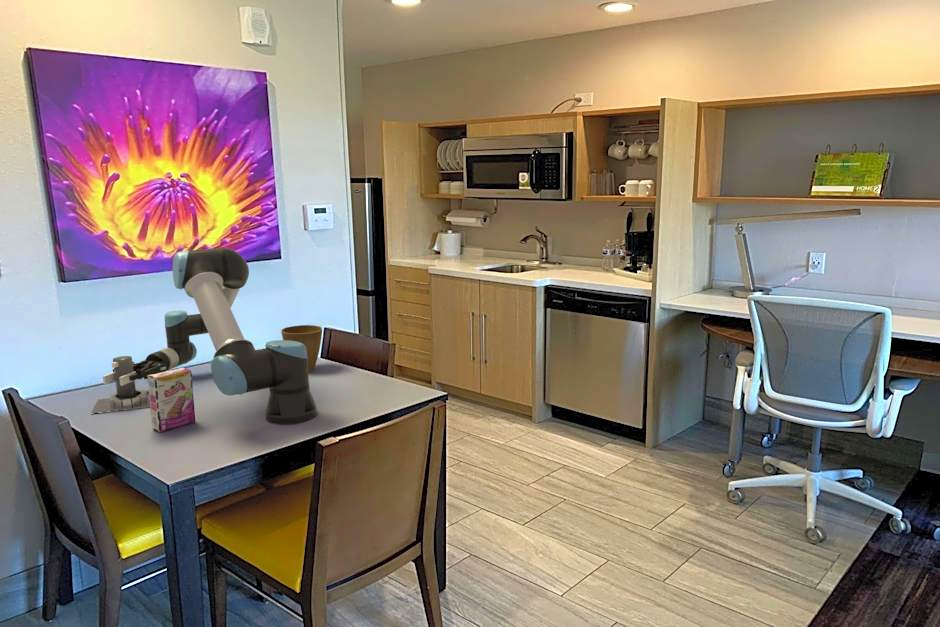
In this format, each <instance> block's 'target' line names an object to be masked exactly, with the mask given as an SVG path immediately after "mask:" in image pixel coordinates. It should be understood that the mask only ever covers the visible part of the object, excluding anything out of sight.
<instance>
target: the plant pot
mask: <svg viewBox="0 0 940 627" xmlns="http://www.w3.org/2000/svg"><path fill="white" fill-rule="evenodd" d="M280 332H281V337H282V340H288V341H296V342H300V343H302V344H304V345H305V347H306V351H307V357H308V373H310V372H309V371H311V372H313V371H314V370H315V367H316V364H317V361H318V357H319V353H320V348H321V343H322V342H321V341H322V335H323V327H321V326H320V325H313V324H303V325H301V324H300V325H293V326H286V327H284V328H282V329H281V331H280ZM312 370H313V371H312Z"/></svg>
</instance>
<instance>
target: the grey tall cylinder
mask: <svg viewBox="0 0 940 627" xmlns="http://www.w3.org/2000/svg"><path fill="white" fill-rule="evenodd" d="M132 362H133V357H132V356H131V355H124V356H117V357H113V358H112V362H111V368H113V369H114V374H115V381H114V382H115V387H116V388H115V389H116V393H117V398H131V397H135V396H136V389H137V388H136V380H135V381H132V382H130V383H128V384H125V385H123V386H120V379H119V377H121V376H124V375H126V374H129V373H132V372H134V371H133V363H132Z"/></svg>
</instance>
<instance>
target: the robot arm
mask: <svg viewBox="0 0 940 627" xmlns="http://www.w3.org/2000/svg"><path fill="white" fill-rule="evenodd" d="M172 261H173V262H172V279H173V284H174V287H175V288H176V289H177V290H184V291H185V292H184V293H185V294H186V295H187V296H188V297H190V298H192V299H193V300H194V302H195V304H196V308H197V309H198V311H199V313H196V314H188V312H187V311H186V310H180V309H179V310H171V311H168V312H166V313H165V314H164V328H165V336H166V345H167V347H165V348H163V349H160V350H158V351H155V352H152V353H150V354H148V355H147V356H146V358H145V360H142V361H140V362H136V363H135V361H132V363H133V371H134V372H132V373H129V374H126V375H124V376H121V377H119V379H120V386H123V385H125V384H128V383H130V382H132V381H135V382H136V381H137V380H142V379H144V380H148V375H152V374H156V373H161V372H166V371H170V370H173V369H176V368H177V367H179V366H181V365H185V364H188V363H190V362H191V361H193V360H194V359H195V358H196V357H197V353H198V350H197V347H196V346H195V344H194V343H193V342H192V341H191V340H190V337H191V336H199V335H204V334H205V335H206V334H208V335H209V337H210V340H211V342H212V345H213V347H214V349H215V353H214V354H213V358H212V360H211V364H210V371H211V374H212V379H213V381H214V383H215V385H216V387H217V388H218V391H220V392H221V393H222V394H223V395H226V396H236V395H240V396H241V395H243V394H246V393H251V392H255V391H261V390H265V389H268V390H269V396H268V399H267V404H266V407H265V415H264V416H265V421H267V422H268V423H271V424H274V425H275V424H276V425H292V424H293V425H294V424H299V423H304V422H306V421H309V420H311V419H312V420H313V418H315V417H316V416H317V414H318V413H317V412H318V410H317V405H316V402H315V399H314V397H313V395H312V392H311V390H310V381H309V380H310V379H309V372H308V357H307V351H306V347H305V345H304V344H302V343H300V342H296V341H288V340H283V339H280V340H279V339H278V340H270V341H267V342H266V343H265V347H264V348H259V349H256V348H255V346H254V344H253V342H252V341H250V340H247V339H245V337H244V334H243V333H242V331H241V328H240V326H239V324H238V322H237V320H236V318H235V315H234V313H233V311H232V309H231V308H232V306H233V304H234V301H235V300H236V297H237V296H238V294H239V292H240V289H241V288H243V287H244V286H245V285H246V283H247V281H248V279H249V276H250V275H249V274H250V270H249V266H248V263H247V261H246V259H245V258H244V257H243V255H241V254H240V253H239V252H238V251H236V250H234V249H231V248H227V247H218V248H206V249H203V248H202V249H193V250H192V249H187V250H183V251H178V252H176V253H175V254H174V256H173V260H172ZM102 380H103V385H104V386H105V385H109V384H110V383H113V382H115V374H114V368H113V369H112V372H110V373H107V374H105V375H102Z"/></svg>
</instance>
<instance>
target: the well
mask: <svg viewBox="0 0 940 627" xmlns="http://www.w3.org/2000/svg"><path fill="white" fill-rule="evenodd" d="M100 399H101V400H100ZM146 407H150V397H149V393H147V390H144V389H137V388H136V396H135V397H131V398H117V392H115V393H113V394H111V395H110V396H109V397H108V398H99V399H97V401H96V402H95V405H94V406H93V408H92V411H91V412H90V414H91V413H98V412H107V411H116V410H124V409H134V410H136V409H135V408H142V409H147V408H146Z"/></svg>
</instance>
